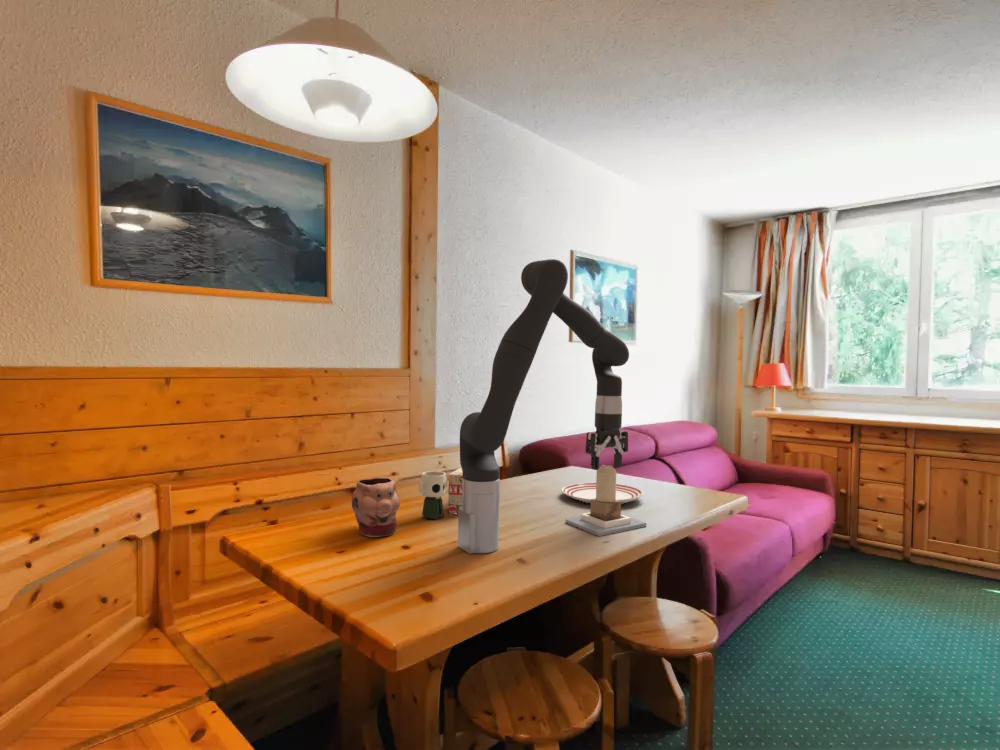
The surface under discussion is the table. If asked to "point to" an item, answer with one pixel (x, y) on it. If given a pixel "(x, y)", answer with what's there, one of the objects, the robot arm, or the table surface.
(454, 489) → the stack of blocks
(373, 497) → the decorative planter
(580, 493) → the dinner plate
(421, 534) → the table surface
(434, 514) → the character mug
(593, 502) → the walnut block
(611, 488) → the candle
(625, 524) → the baseplate
